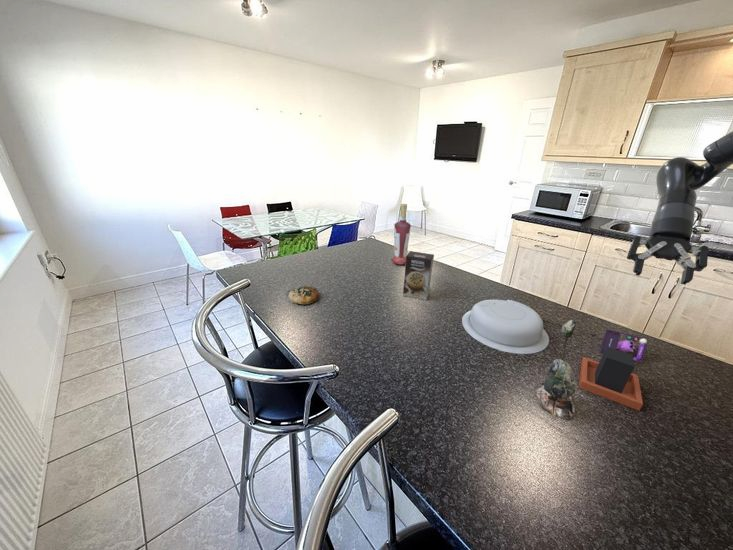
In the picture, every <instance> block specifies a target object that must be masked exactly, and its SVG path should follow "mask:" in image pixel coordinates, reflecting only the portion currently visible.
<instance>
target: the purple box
mask: <svg viewBox="0 0 733 550" xmlns="http://www.w3.org/2000/svg"><path fill="white" fill-rule="evenodd" d="M621 335H624V336H625V337H624V338H625V340H623V339H621V340H620V338H621ZM649 340H650V339H649V338H647V337H643V336H640V335H634V334H631V333H626V332H622V331H619V330H618V331H617V330H613V329H609V328H606V329H605V332H604V336H603V339H602V342H601V346H600V350H599V352H600V353H602V354H603V353H604V350H605V348H606V347H609V348H612V349H615V350H619V351H622V352H625V353H630V352H631V353H632V352H634V350H636V351H637V350H638V351H637V354H636V356H633V359H634V363H639V364H641V363H642V362H643V359H644V356H645V353H646V350H647V347H648V343H649ZM634 342H635V343H634ZM638 342H639V347H638V349H637V348H636V347H635V346H638V344H636V343H638Z"/></svg>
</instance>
